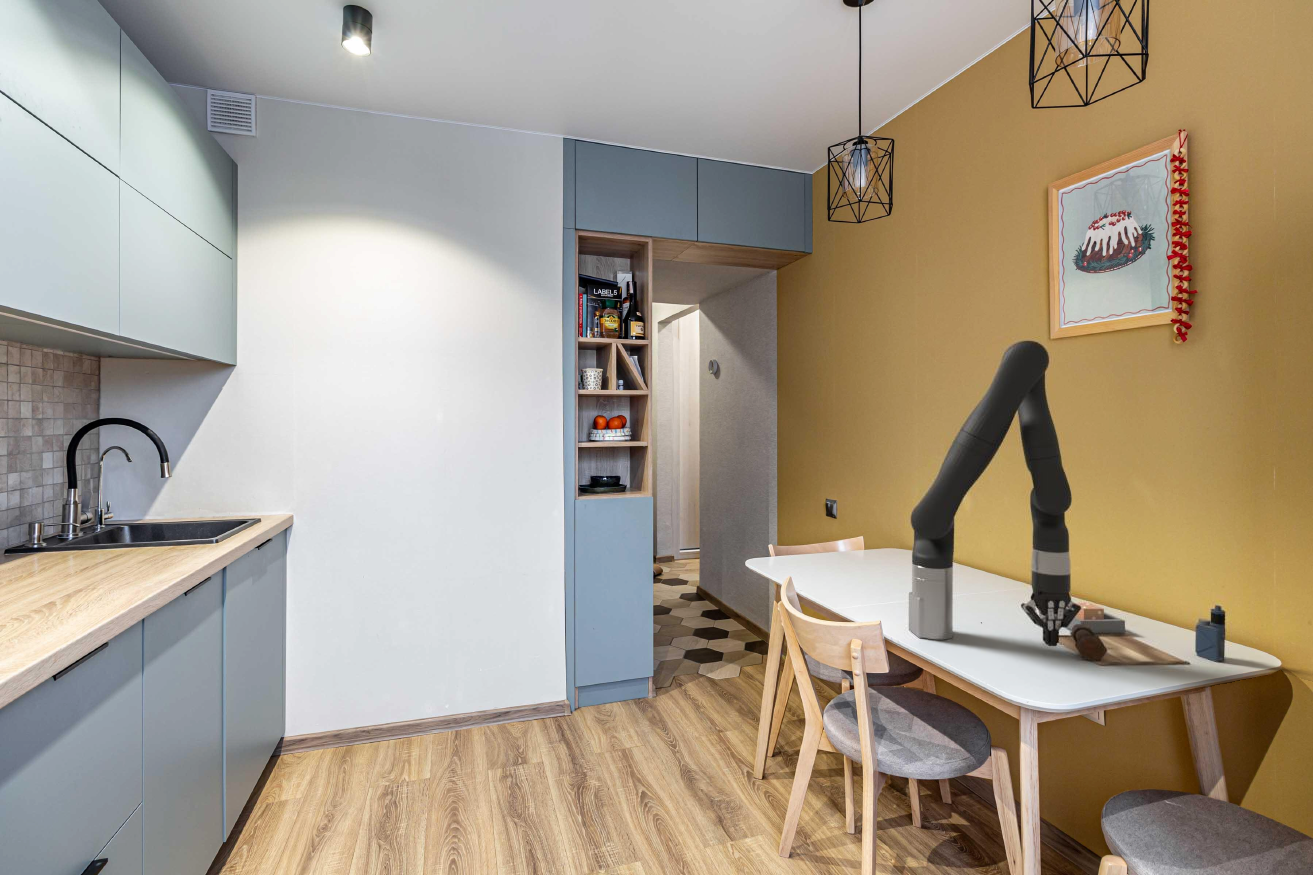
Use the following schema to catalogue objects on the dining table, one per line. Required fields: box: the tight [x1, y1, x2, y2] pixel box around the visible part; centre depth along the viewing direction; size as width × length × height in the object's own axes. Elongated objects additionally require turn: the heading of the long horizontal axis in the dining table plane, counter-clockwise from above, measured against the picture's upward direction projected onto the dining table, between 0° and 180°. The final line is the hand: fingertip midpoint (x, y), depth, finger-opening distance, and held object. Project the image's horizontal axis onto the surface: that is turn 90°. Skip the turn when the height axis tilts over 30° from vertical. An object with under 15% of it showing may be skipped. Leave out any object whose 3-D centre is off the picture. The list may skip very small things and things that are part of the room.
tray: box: [1063, 611, 1126, 635], centre depth 157 cm, size 11×11×4 cm
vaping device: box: [1194, 604, 1227, 663], centre depth 136 cm, size 3×5×12 cm, turn 16°
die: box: [1074, 602, 1105, 620], centre depth 157 cm, size 5×5×5 cm
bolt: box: [1069, 624, 1107, 662], centre depth 142 cm, size 6×5×15 cm
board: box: [1058, 633, 1191, 666], centre depth 142 cm, size 20×18×1 cm
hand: (1050, 644), depth 141 cm, fingers closed
